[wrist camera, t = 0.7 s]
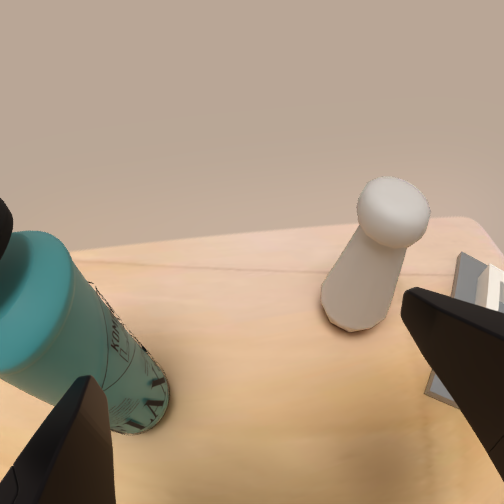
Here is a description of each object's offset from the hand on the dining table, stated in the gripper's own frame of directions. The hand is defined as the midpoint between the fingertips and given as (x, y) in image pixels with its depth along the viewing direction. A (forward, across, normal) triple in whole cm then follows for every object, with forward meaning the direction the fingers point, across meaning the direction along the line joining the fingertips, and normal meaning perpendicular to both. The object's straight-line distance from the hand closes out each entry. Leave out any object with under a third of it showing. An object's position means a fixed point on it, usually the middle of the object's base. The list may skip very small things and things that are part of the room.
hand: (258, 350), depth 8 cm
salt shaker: (+13, -10, +11) cm, 20 cm away
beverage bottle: (+10, +9, +12) cm, 18 cm away
